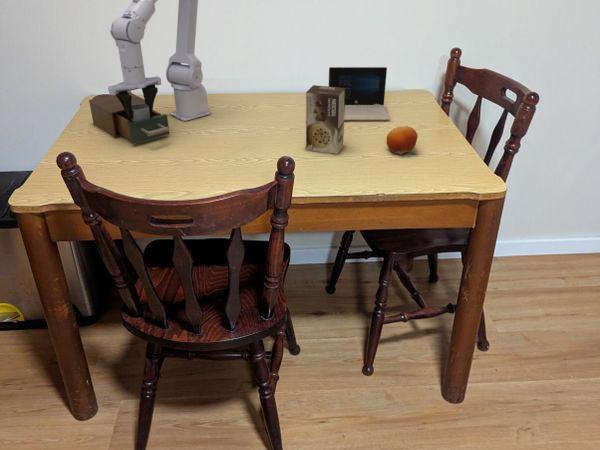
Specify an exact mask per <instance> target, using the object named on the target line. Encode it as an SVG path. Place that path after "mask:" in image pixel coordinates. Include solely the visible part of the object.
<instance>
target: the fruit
mask: <svg viewBox="0 0 600 450" xmlns="http://www.w3.org/2000/svg"><path fill="white" fill-rule="evenodd" d="M417 142H418V132H417V130H415V129H414V128H413V127H410V126H409V125H407V126H406V125H403V126H397V127H395V128H392V129H391V130H390V131H389V132H388V133H387V134H386V146H387V147H388V150H389V151H390V152H392V153H394V154H398V155H400V156H402V155H403V154H404V153H412V154H414V149H415V147H416V145H417Z"/></svg>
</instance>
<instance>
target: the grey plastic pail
mask: <svg viewBox="0 0 600 450" xmlns="http://www.w3.org/2000/svg"><path fill="white" fill-rule="evenodd" d="M132 112H133V118H132V119H131V121H133V122H135V121H139V120H143V119H147V118H150V111H149V105H147V104H134V105H132Z"/></svg>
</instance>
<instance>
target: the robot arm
mask: <svg viewBox="0 0 600 450" xmlns="http://www.w3.org/2000/svg"><path fill="white" fill-rule="evenodd" d="M158 1H159V0H132V2H131V3H129V6H128V7H127V8H126V10H125V11H124V12H123V13H122V15H121V16H119V17H116V18H115V19H114V20H113V21H112V23H111V25H110V30H109V32H110V35H111V37H112V39H113V40H114V41H115V46H116V47H117V48H118V55H119V62H120V67H121V68H120V69H121V74H122V79H123V81H121V82H119V83H117V84H113V85H110V86H107V89H108V95H112V96H113V95H116V96H117V98H118V99H119V101H120V102H121V104H122V105H123V107H124V109H125V112H126V114H127V117H128V118H130V119H132V118H133V112H132V104H131V100H132V96H131V95H129V93H127V91H131V92H132V91H135V90H136V91H137V90H140V89H141V91H142V94H143V99H144V100H145V104H147V105H149V111H150V114H152V112H153V110H154V103H155V99H156V96H157V94H158V91H159V89H158V87H157V86H162V85H163V84H162V78H161V77H160V76H152V77H146V72H145V66H144V65H145V64H144V58H143V50H142V44H141V41H142V40H143V39H144V36H145V30H146V26H147V24H148V22H149V21H150V19H151V18H152V17H153V15H154V14H155V13H156V3H157V2H158ZM198 8H199V0H178V7H177V22H176V23H177V26H176V39H175V40H176V43H175V52H174V54H172V55H171V56H170V57H169V58H168V63H167V67H166V70H165V78H166V80H167V82H168V83H169V84H170V87H171V88H173V89H172V90H173V97H174V105H175V111H174V112H171V113H170V115H171V116H173V117H174V118H177V119H179V120H181V121H183V122H186V121H187V122H188V121H191V120H193V119H199V118H202V117H205V116H208V115H211V113H210V111H209V101H208V92H207V90H206V87H205V86H204V84H202V82H203V77H204V75H203V70H202V61H201V60H200V59H199V58H198V57H197V56H196V55H195V51H196V39H197V38H196V35H197V23H198V10H199V9H198Z"/></svg>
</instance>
